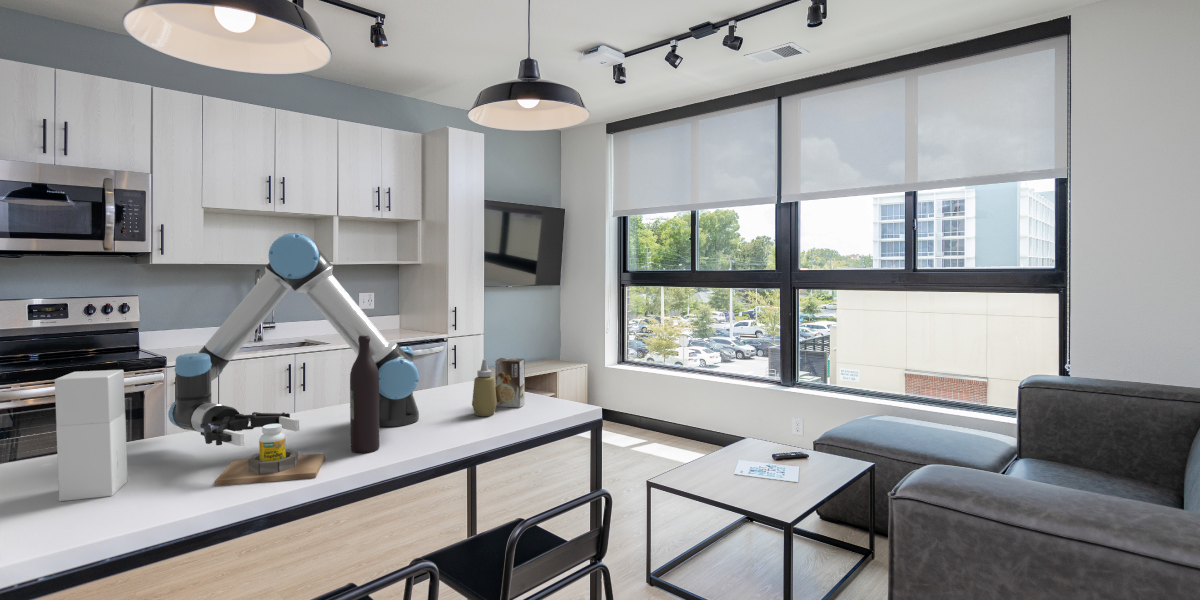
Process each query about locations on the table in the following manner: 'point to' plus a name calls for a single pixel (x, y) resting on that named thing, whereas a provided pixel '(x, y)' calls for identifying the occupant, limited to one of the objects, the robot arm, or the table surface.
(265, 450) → the supplement bottle
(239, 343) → the robot arm
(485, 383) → the squeeze bottle
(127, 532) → the table surface
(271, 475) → the board
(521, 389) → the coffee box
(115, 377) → the tall white carton
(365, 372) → the wine bottle
